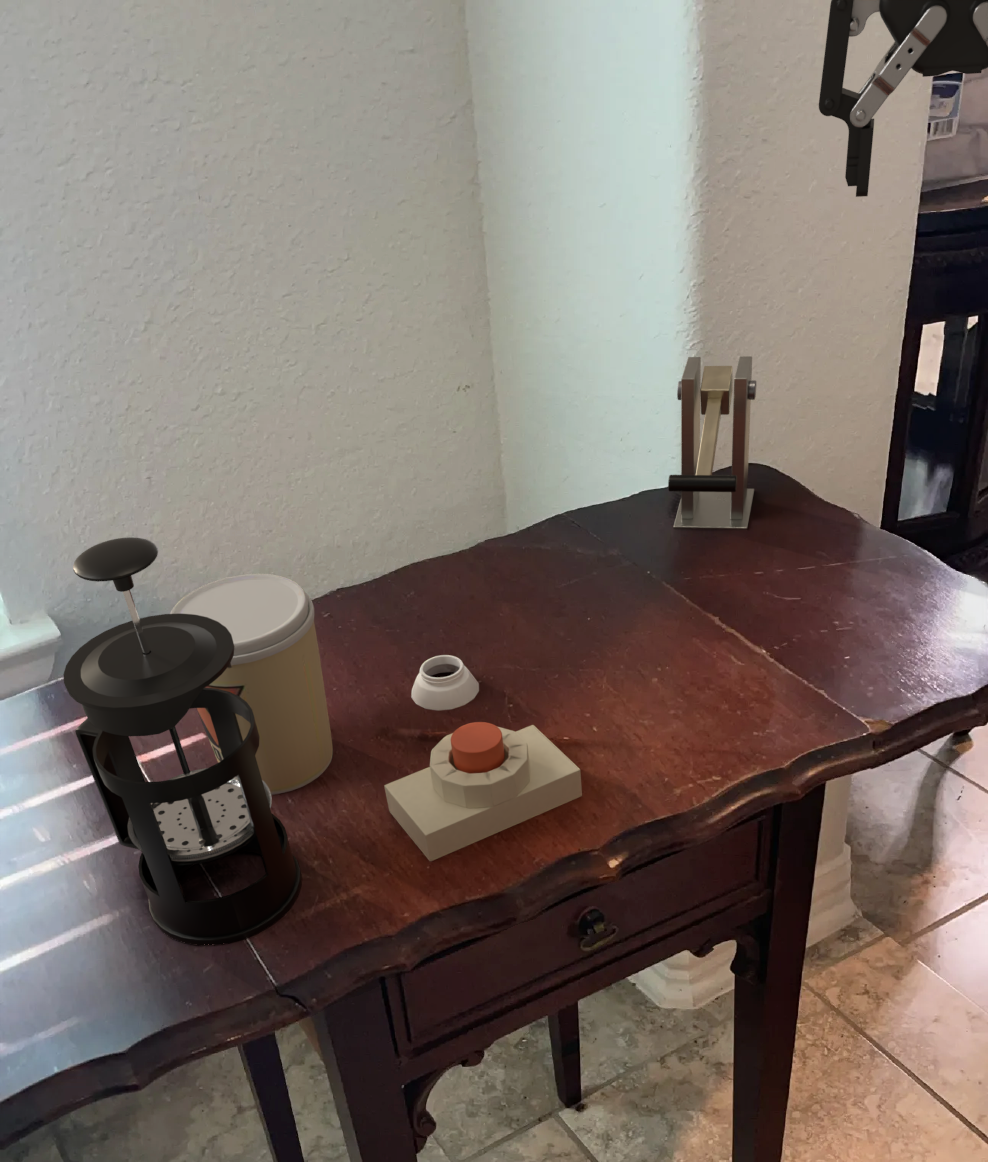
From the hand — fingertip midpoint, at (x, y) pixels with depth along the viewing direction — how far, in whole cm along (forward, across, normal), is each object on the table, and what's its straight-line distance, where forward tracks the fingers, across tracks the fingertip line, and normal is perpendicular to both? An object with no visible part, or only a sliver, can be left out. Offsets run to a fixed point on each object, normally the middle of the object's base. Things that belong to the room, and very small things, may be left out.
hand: (936, 190), depth 75 cm
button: (+24, -24, -26) cm, 43 cm away
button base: (+28, -24, -26) cm, 45 cm away
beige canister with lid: (+28, -40, -23) cm, 54 cm away
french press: (+28, -39, -36) cm, 60 cm away
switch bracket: (+28, -14, +13) cm, 34 cm away
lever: (+20, -14, +9) cm, 26 cm away
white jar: (+28, -30, -15) cm, 44 cm away
